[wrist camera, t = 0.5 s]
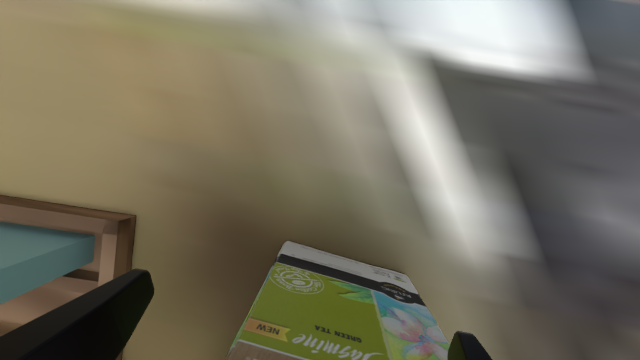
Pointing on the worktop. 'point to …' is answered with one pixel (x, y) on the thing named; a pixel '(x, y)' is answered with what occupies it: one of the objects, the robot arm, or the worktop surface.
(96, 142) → the worktop surface
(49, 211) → the tray
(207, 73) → the worktop surface
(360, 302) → the tea box
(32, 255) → the teal flat block
